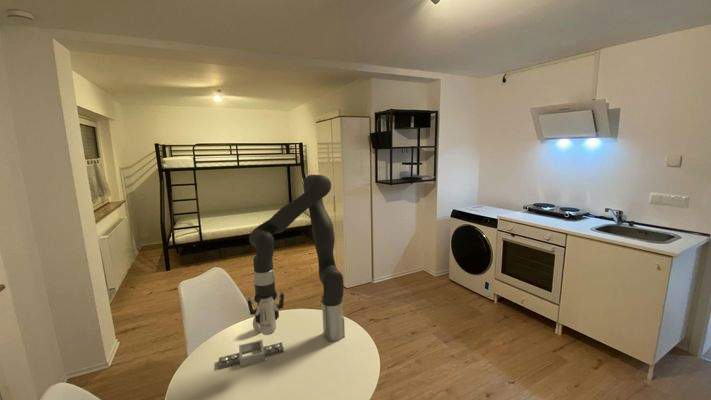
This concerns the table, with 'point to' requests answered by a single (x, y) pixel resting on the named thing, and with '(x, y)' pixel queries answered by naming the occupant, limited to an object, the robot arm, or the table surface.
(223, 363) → the mounting bracket
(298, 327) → the table surface
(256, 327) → the donut
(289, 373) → the table surface
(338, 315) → the robot arm
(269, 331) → the energy drink can
